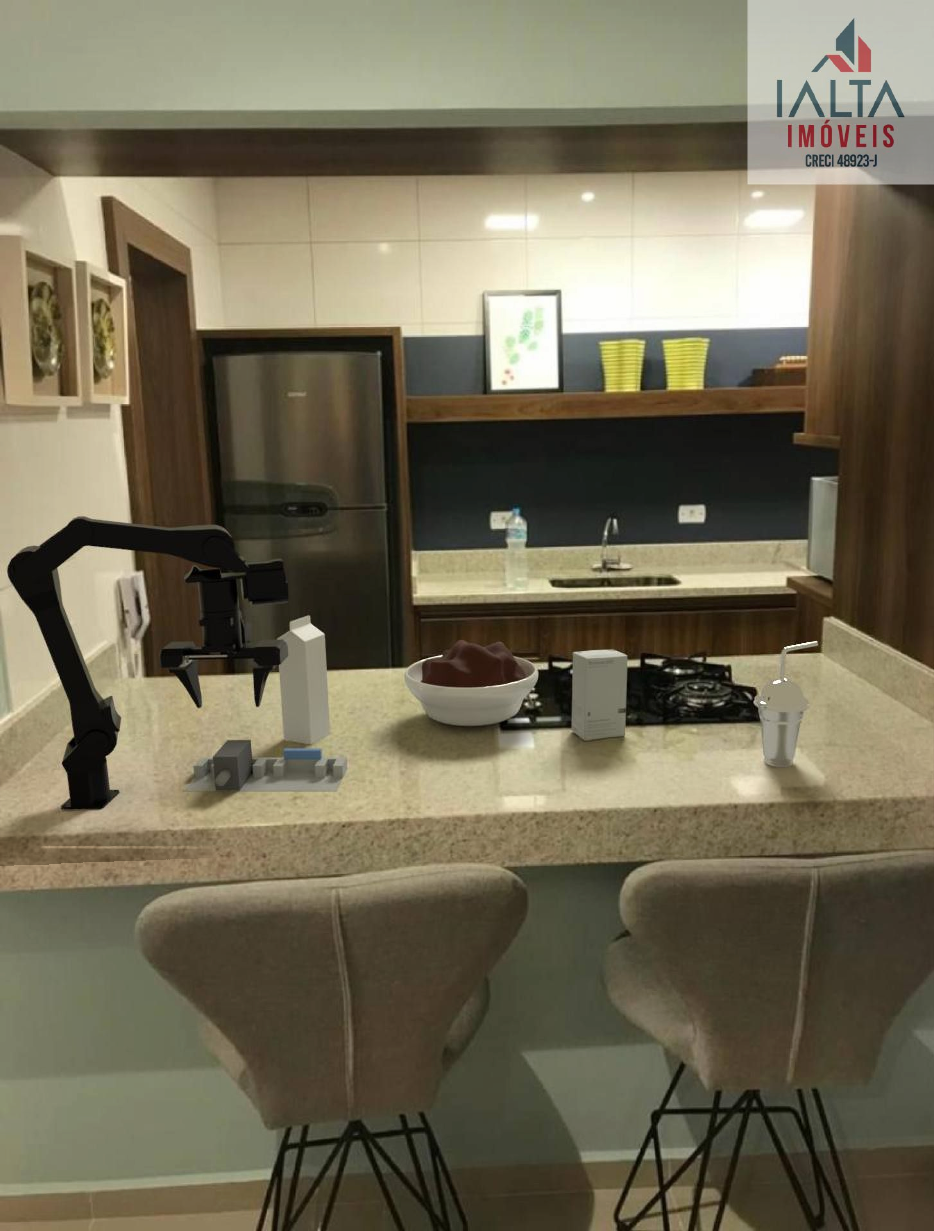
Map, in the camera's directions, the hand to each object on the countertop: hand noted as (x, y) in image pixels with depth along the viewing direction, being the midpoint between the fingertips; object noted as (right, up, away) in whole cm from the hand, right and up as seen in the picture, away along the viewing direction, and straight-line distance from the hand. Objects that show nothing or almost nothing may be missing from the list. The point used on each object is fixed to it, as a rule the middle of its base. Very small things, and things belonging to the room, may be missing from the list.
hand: (228, 706), depth 147 cm
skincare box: (+61, -7, +21) cm, 64 cm away
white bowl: (+38, -5, +31) cm, 50 cm away
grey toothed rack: (+5, -12, +3) cm, 14 cm away
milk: (+8, -8, +22) cm, 25 cm away
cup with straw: (+88, -10, +6) cm, 88 cm away
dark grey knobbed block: (0, -12, +1) cm, 12 cm away
